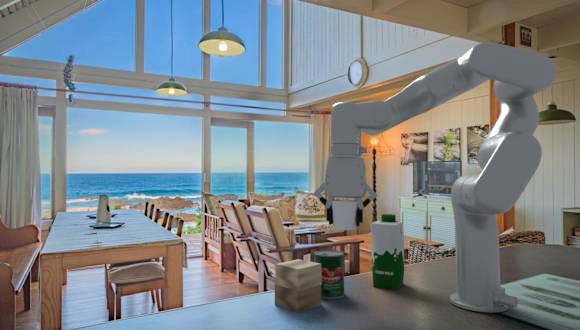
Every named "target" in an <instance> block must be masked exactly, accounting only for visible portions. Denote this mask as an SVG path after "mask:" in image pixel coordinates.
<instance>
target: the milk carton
mask: <svg viewBox="0 0 580 330" xmlns="http://www.w3.org/2000/svg"><path fill="white" fill-rule="evenodd" d="M396 217H397V216H396V214H391V213H390V214H389V213H388V214H387V213H386V214H385V213H384V214H381V220H376V221H373V222H371V223H370V232H371V234H370V236H371V272H372V286H373V288H381V289H390V290H399V289H400V288H401V287H402V285H403V284H404V277H405V238H404V222H403V221H399V220H398V221H396V220H397V218H396Z"/></svg>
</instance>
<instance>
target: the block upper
mask: <svg viewBox="0 0 580 330" xmlns="http://www.w3.org/2000/svg"><path fill="white" fill-rule="evenodd" d="M274 269H275V271H274V272H275V273H274V274H275V275H274V277H275V278H274V279H275V283H274V286H275V285H278V286H282V287H285V288H289V289H292V290H296V291H301V290H305V289H308V288H311V287H315V286H318V285H322V269H321V264H320V263H315V262H314V261H308V260H304V259H299V258H298V259H297V258H296V259H293V260H289V261H287V260H286V261H283V262H282V261H281V262H279V263H275V264H274Z"/></svg>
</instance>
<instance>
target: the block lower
mask: <svg viewBox="0 0 580 330" xmlns="http://www.w3.org/2000/svg"><path fill="white" fill-rule="evenodd" d="M274 305H275V306H277V307H280V308H283V309H285V310H288V311H292V312H294V313H297V314H299V313H301V312H304V311H307V310H311V309H314V308H316V307H319V306H322V298H321V285H318V286H315V287H311V288H308V289H305V290H301V291H296V290H292V289H289V288H285V287H282V286H278V285H275V284H274Z"/></svg>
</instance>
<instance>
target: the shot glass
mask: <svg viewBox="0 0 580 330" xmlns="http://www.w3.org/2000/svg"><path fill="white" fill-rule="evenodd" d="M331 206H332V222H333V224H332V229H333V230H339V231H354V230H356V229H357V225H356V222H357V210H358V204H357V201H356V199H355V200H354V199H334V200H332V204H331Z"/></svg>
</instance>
